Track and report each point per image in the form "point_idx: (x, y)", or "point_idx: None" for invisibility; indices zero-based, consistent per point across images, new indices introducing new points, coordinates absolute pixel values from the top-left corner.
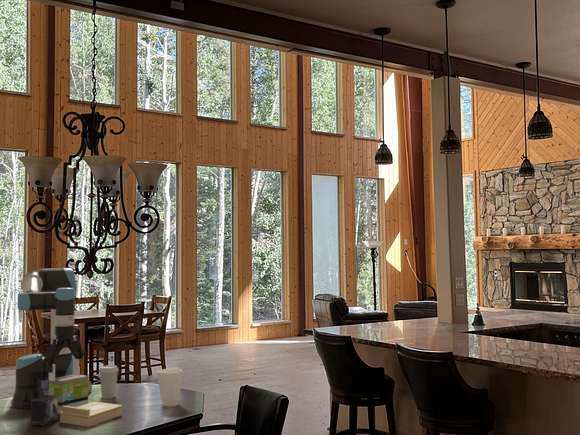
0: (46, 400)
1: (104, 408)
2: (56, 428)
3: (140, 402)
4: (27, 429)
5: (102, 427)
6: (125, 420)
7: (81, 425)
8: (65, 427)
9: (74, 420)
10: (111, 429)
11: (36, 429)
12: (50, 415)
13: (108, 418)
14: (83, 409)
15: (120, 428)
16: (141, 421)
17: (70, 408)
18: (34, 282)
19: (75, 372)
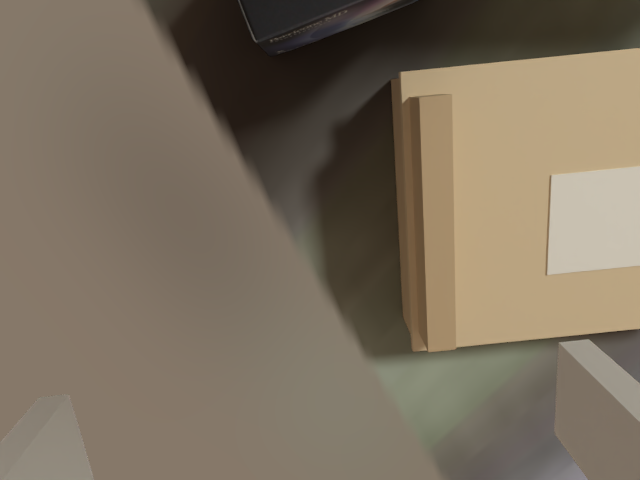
0: (294, 28)
1: (621, 281)
2: (282, 183)
3: None
4: (159, 29)
5: (430, 387)
6: None
7: (400, 266)
8: (326, 213)
9: (401, 216)
10: (424, 448)
11: (196, 87)
12: (345, 29)
13: None
14: (427, 320)
15: (459, 469)
16: None
17: (420, 190)
18: None
19: (576, 416)
